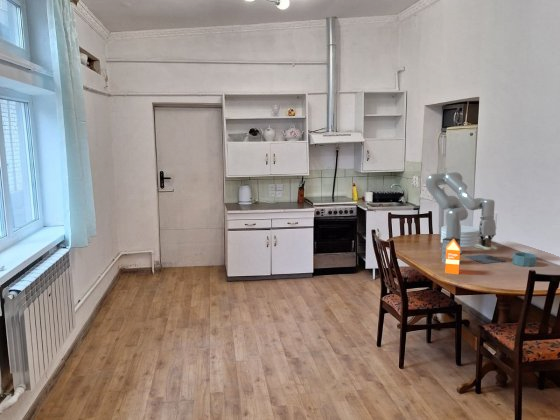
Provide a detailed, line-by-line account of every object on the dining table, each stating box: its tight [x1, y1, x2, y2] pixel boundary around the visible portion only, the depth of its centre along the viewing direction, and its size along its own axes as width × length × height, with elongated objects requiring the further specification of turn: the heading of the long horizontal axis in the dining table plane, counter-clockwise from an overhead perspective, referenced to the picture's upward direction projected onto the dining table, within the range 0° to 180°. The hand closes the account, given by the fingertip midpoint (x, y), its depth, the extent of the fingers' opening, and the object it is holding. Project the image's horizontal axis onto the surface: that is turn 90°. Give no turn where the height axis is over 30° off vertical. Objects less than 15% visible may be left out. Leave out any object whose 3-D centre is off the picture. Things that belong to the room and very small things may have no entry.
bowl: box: [512, 251, 537, 268], centre depth 292 cm, size 13×13×6 cm
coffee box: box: [441, 237, 461, 264], centre depth 296 cm, size 9×6×16 cm
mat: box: [464, 253, 507, 265], centre depth 304 cm, size 18×18×1 cm
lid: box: [473, 237, 499, 251], centre depth 302 cm, size 15×15×6 cm
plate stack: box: [440, 224, 481, 248], centre depth 352 cm, size 28×28×12 cm
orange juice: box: [444, 239, 461, 275], centre depth 275 cm, size 8×9×20 cm
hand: (486, 244), depth 302 cm, fingers closed on lid, 4 cm apart
